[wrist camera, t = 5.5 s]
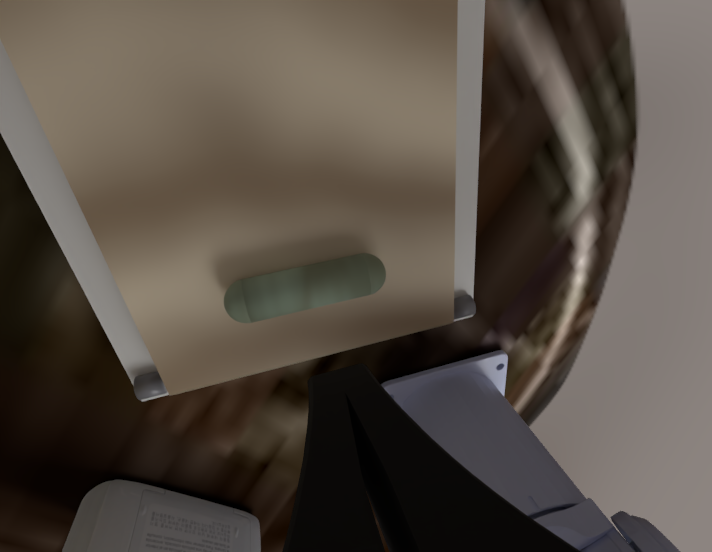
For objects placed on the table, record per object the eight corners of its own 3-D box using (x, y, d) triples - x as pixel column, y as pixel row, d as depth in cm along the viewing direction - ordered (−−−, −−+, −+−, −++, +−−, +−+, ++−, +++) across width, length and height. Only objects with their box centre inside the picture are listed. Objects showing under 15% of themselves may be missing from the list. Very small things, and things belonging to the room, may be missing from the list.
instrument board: (444, 311, 19) (471, 343, 17) (173, 379, 17) (162, 426, 15) (443, -61, 12) (488, -89, 10) (-11, -24, 10) (-81, -50, 8)
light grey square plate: (458, 301, 21) (480, 325, 19) (148, 378, 19) (137, 415, 17) (465, -86, 14) (503, -113, 12) (-64, -50, 11) (-131, -76, 9)
